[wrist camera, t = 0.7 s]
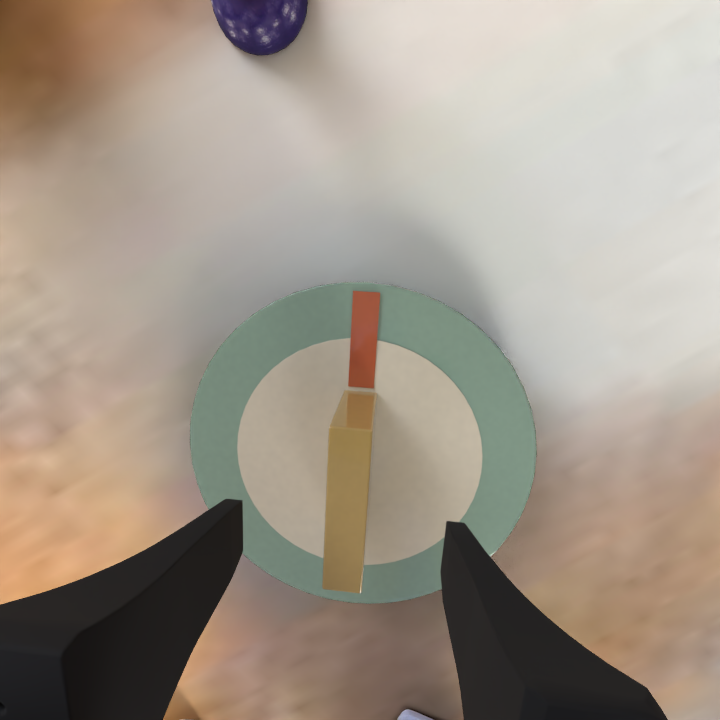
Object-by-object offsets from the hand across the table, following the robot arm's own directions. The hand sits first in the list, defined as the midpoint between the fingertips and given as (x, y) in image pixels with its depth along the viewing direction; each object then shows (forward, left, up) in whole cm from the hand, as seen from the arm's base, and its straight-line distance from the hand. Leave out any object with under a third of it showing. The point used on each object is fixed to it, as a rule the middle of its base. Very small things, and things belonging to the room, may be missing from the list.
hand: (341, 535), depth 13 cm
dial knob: (0, 0, -7) cm, 7 cm away
